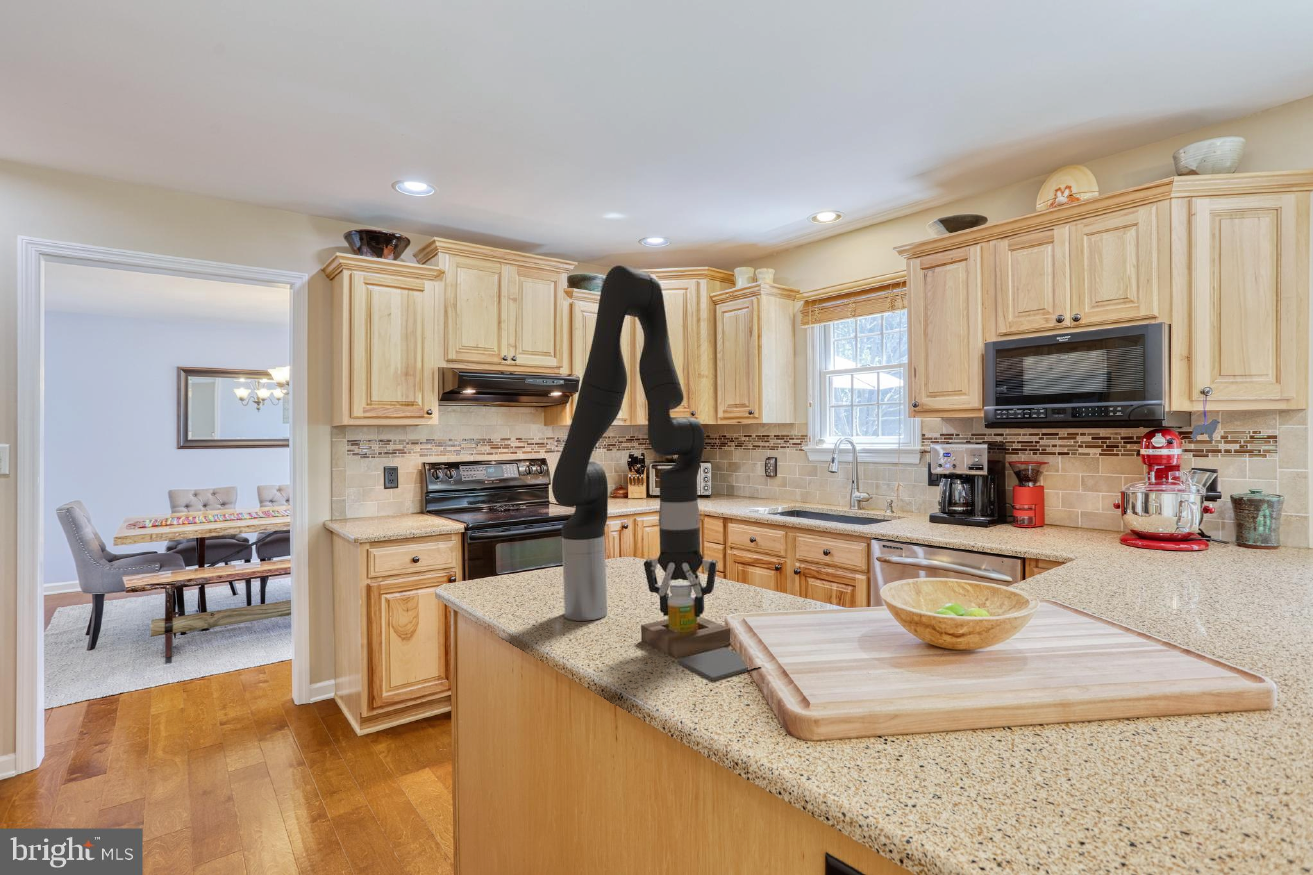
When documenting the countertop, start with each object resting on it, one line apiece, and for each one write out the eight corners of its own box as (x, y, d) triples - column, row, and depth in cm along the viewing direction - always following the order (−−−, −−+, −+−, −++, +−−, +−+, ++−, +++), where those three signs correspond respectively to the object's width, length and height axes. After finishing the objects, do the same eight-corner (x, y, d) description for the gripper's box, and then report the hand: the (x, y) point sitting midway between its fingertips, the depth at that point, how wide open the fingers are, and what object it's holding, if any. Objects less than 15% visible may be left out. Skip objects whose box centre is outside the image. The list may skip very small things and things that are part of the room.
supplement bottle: (680, 643, 119) (677, 590, 119) (663, 636, 123) (660, 585, 123) (703, 637, 122) (701, 584, 122) (686, 630, 126) (684, 580, 126)
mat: (678, 662, 112) (677, 659, 112) (724, 650, 118) (724, 647, 118) (713, 681, 104) (713, 677, 104) (761, 666, 109) (761, 663, 109)
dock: (641, 640, 125) (640, 624, 125) (693, 628, 131) (692, 613, 131) (676, 658, 115) (675, 641, 115) (730, 644, 121) (730, 628, 121)
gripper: (720, 521, 124) (723, 611, 125) (646, 521, 128) (649, 608, 128) (714, 528, 117) (717, 623, 117) (636, 527, 120) (639, 619, 121)
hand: (682, 614), depth 123 cm, fingers closed on supplement bottle, 5 cm apart
